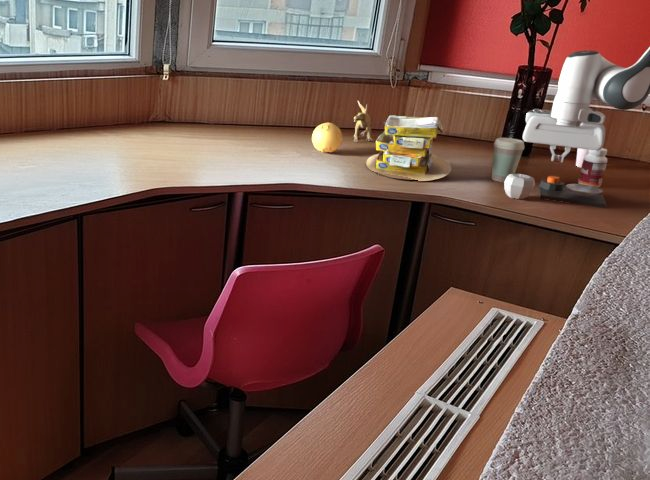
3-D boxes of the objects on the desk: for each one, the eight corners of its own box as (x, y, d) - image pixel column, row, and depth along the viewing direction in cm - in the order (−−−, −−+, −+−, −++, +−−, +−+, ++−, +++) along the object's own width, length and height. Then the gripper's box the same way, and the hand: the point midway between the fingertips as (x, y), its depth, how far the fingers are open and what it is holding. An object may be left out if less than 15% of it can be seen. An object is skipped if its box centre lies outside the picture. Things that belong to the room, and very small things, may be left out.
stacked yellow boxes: (435, 186, 205) (445, 128, 198) (353, 171, 217) (361, 116, 211) (458, 170, 224) (469, 117, 217) (382, 157, 236) (389, 106, 230)
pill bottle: (574, 181, 217) (583, 145, 213) (595, 183, 216) (605, 147, 212) (581, 187, 211) (591, 150, 207) (603, 188, 210) (613, 151, 206)
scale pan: (600, 188, 198) (601, 186, 198) (604, 196, 191) (604, 194, 190) (564, 184, 201) (565, 182, 201) (566, 191, 194) (567, 189, 194)
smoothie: (588, 170, 231) (599, 126, 226) (567, 165, 236) (578, 123, 231) (595, 167, 236) (606, 124, 230) (575, 163, 240) (585, 121, 235)
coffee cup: (515, 185, 210) (524, 144, 205) (484, 180, 214) (492, 140, 209) (518, 179, 217) (527, 139, 212) (488, 174, 220) (496, 135, 216)
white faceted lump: (504, 200, 194) (509, 176, 192) (497, 192, 202) (502, 169, 199) (535, 203, 193) (540, 179, 191) (527, 195, 200) (533, 172, 198)
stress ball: (308, 153, 237) (311, 123, 233) (312, 147, 246) (316, 118, 242) (338, 157, 234) (342, 126, 230) (342, 151, 243) (345, 121, 239)
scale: (600, 195, 203) (602, 185, 202) (605, 208, 191) (608, 197, 190) (538, 187, 209) (540, 177, 208) (539, 199, 197) (542, 188, 196)
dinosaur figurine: (349, 146, 250) (354, 107, 245) (352, 132, 274) (357, 96, 269) (371, 148, 249) (377, 109, 244) (373, 134, 272) (378, 98, 267)
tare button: (557, 182, 204) (559, 176, 204) (558, 185, 202) (559, 179, 201) (546, 181, 205) (547, 175, 205) (546, 183, 203) (548, 177, 202)
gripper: (528, 109, 197) (516, 158, 202) (611, 118, 190) (597, 169, 195) (527, 106, 202) (516, 154, 208) (609, 114, 195) (595, 164, 200)
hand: (556, 161), depth 201 cm, fingers closed
